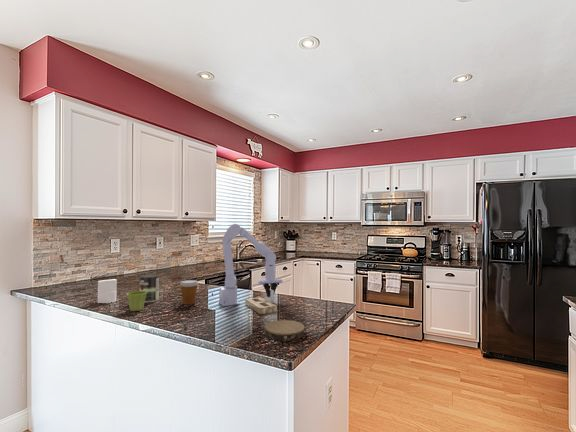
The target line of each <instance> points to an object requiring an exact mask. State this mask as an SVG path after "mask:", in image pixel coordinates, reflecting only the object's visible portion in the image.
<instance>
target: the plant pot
mask: <svg viewBox="0 0 576 432" xmlns="http://www.w3.org/2000/svg"><path fill="white" fill-rule="evenodd" d="M146 293H147V291H139V290H135V291H130V292H126V295H127V299H128V306H129V311H130V312H136V311H137V312H138V311H142V310H143V309H144V306H145V303H144V301H145V296H146Z"/></svg>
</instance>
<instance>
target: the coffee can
mask: <svg viewBox="0 0 576 432" xmlns="http://www.w3.org/2000/svg"><path fill="white" fill-rule="evenodd" d="M159 281H160V275H159V274H155V273H153V274H143V275H142V274H141V275H140V276H139V290H138V291H147V293H146V296H145V301H144V304H145V303H153V302H156V301H159V292H160V291H159V289H160V286H159V285H160V282H159Z"/></svg>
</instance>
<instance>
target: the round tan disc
mask: <svg viewBox="0 0 576 432" xmlns="http://www.w3.org/2000/svg"><path fill="white" fill-rule="evenodd" d="M264 334H265V336H266V337H267V338H268V339H271V340H274V341H279V342H280V341H281V342H289V341H290V342H292V341H296V340H299V339H302V338H303V337H305V325H304V324H303V323H301V322H298V321H295V320H288V319H287V320H286V319H284V320H283V319H282V320H280V319H279V320H273V321H270V322H268V323H266V325H265V326H264Z"/></svg>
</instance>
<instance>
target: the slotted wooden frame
mask: <svg viewBox="0 0 576 432" xmlns="http://www.w3.org/2000/svg"><path fill="white" fill-rule="evenodd" d="M244 302H245V306H247V307H249V308H250V309H252V310H253V311H255V312H256V313H257V314H259V315H264V314H271V313H272V314H273V313H276V312H277V311H278V310H277V309H278V307H277V305H276V304H274V303H271V302H269V301H267V299H266V298H263V297H252V298H245V300H244Z"/></svg>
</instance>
